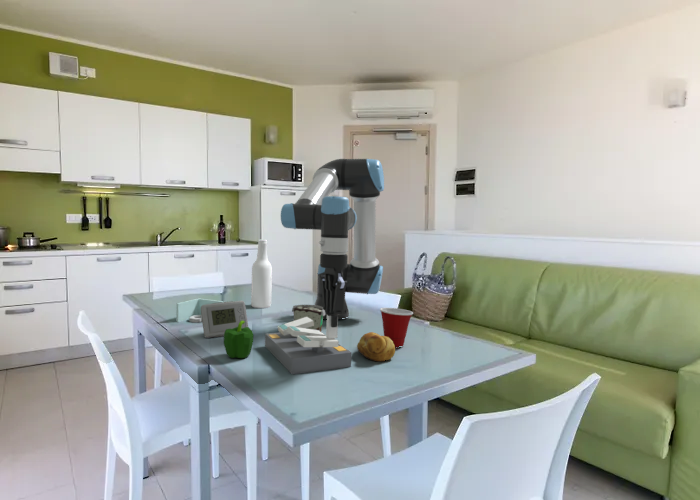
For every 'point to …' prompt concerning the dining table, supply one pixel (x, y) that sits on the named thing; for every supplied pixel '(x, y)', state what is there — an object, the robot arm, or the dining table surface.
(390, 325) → the plastic cup
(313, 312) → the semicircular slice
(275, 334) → the switch unit
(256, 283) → the alcohol
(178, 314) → the l-shaped corner panel
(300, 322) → the rocker
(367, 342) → the bread roll
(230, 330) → the bell pepper
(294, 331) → the rocker
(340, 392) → the dining table surface
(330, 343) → the white rectangular block
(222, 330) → the digital clock
